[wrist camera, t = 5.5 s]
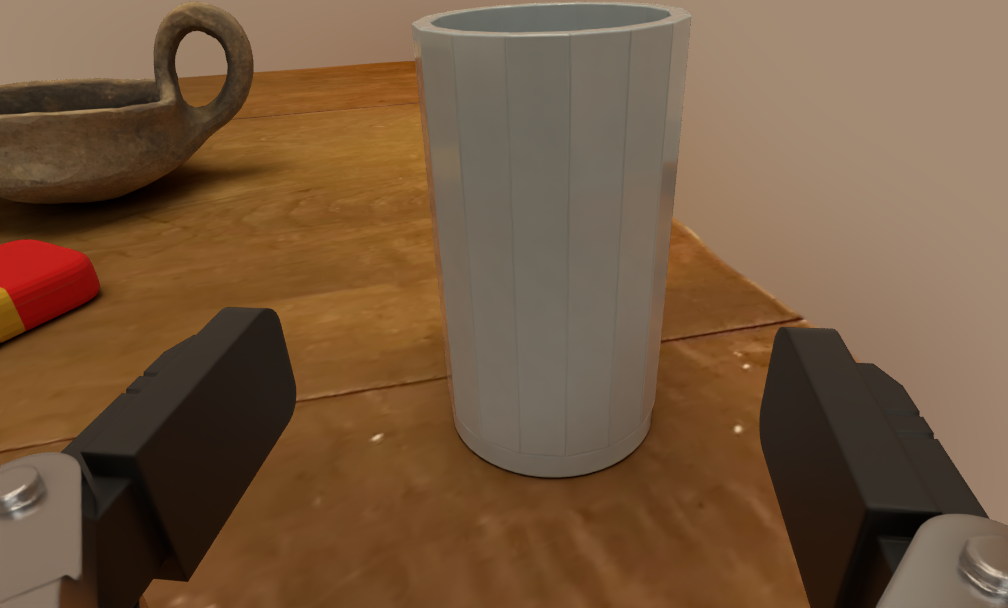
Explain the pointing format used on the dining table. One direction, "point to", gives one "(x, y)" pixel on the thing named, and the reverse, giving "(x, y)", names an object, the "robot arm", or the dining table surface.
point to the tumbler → (552, 220)
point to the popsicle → (41, 284)
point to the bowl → (116, 120)
